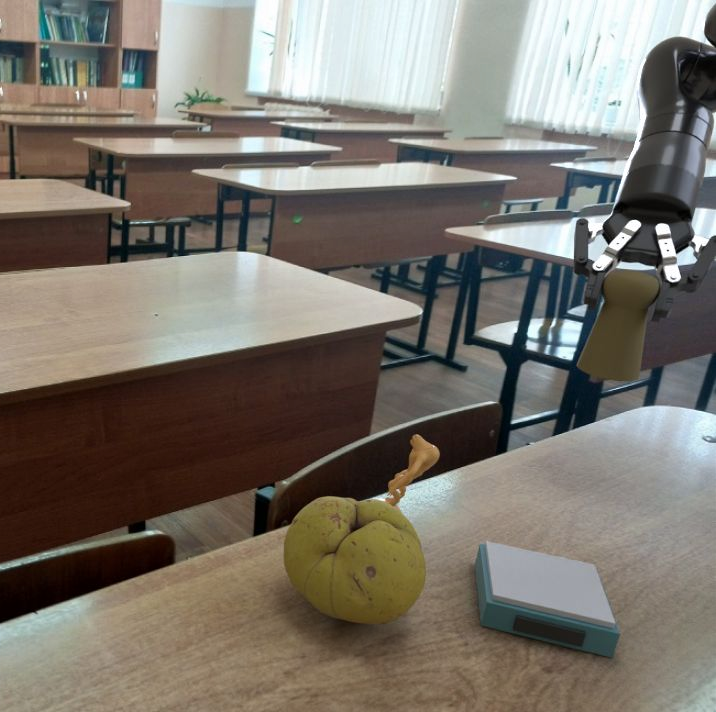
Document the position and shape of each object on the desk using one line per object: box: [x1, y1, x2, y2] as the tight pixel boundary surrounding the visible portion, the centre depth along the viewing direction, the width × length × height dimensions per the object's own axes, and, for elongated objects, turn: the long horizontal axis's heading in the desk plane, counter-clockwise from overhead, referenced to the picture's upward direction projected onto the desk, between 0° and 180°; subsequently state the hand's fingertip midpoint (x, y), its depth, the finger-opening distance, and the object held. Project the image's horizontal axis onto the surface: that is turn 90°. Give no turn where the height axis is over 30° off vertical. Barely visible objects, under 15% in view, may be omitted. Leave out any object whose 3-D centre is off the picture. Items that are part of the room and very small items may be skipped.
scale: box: [474, 540, 621, 659], centre depth 64 cm, size 10×9×3 cm
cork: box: [576, 270, 661, 382], centre depth 78 cm, size 6×6×11 cm
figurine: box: [376, 434, 441, 514], centre depth 71 cm, size 8×6×12 cm
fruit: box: [283, 495, 427, 625], centre depth 62 cm, size 11×12×10 cm
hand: (624, 311), depth 76 cm, fingers closed on cork, 5 cm apart
